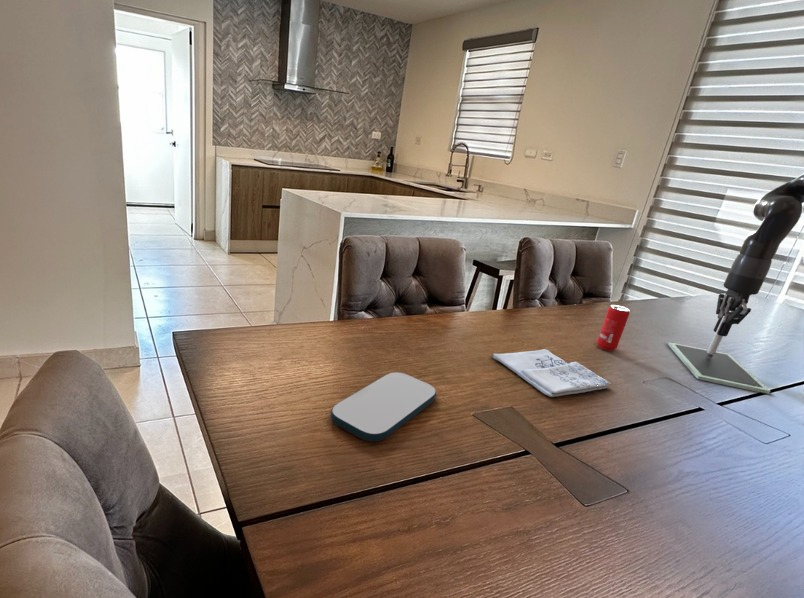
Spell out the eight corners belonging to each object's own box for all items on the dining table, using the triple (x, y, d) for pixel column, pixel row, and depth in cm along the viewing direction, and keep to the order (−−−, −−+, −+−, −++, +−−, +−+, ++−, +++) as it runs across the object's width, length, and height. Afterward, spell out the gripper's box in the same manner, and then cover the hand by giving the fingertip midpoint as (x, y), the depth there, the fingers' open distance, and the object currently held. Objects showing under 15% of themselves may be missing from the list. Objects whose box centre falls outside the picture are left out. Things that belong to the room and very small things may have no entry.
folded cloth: (550, 400, 100) (553, 391, 100) (489, 357, 117) (491, 349, 116) (611, 389, 108) (614, 381, 107) (546, 351, 125) (548, 343, 124)
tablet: (728, 356, 137) (729, 353, 136) (769, 394, 116) (770, 390, 116) (667, 344, 140) (669, 341, 140) (697, 379, 119) (699, 375, 119)
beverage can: (592, 342, 135) (606, 303, 130) (610, 344, 135) (624, 305, 130) (600, 350, 130) (615, 310, 125) (619, 352, 130) (634, 312, 125)
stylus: (711, 356, 132) (729, 316, 127) (713, 358, 131) (732, 318, 126) (704, 354, 132) (722, 315, 128) (706, 357, 131) (725, 317, 126)
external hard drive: (375, 449, 78) (376, 439, 77) (322, 420, 84) (323, 410, 83) (440, 398, 96) (442, 389, 95) (393, 376, 102) (394, 368, 101)
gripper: (778, 283, 115) (746, 346, 122) (751, 269, 127) (724, 328, 134) (743, 277, 117) (714, 340, 123) (720, 264, 129) (695, 322, 136)
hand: (719, 333), depth 129 cm, fingers closed on stylus, 2 cm apart
